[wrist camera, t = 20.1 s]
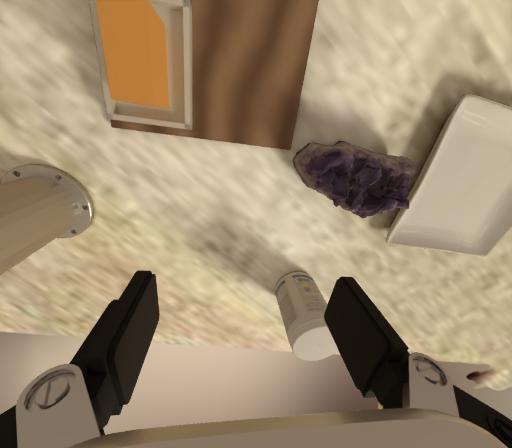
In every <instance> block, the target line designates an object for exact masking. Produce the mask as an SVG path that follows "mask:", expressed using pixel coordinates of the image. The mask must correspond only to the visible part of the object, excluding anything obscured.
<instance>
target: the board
mask: <svg viewBox="0 0 512 448" xmlns="http://www.w3.org/2000/svg"><path fill="white" fill-rule="evenodd" d="M318 1H319V0H190V3H191V6H192V130H188V129H180V128H173V127H165V126H158V125H150V124H143V123H135V122H128V121H120V120H112V119H111V126H112V127H114V128H122V129H130V130H137V131H145V132H153V133H161V134H169V135H177V136H185V137H192V138H200V139H208V140H216V141H224V142H232V143H240V144H247V145H255V146H263V147H271V148H279V149H287V150H290V149H291V144H292V138H293V133H294V128H295V123H296V117H297V112H298V107H299V101H300V96H301V91H302V86H303V80H304V75H305V70H306V65H307V59H308V54H309V49H310V43H311V38H312V33H313V28H314V22H315V17H316V12H317V6H318Z"/></svg>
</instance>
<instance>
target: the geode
mask: <svg viewBox="0 0 512 448" xmlns="http://www.w3.org/2000/svg"><path fill="white" fill-rule="evenodd" d="M293 162H294V166H295V168H296V170H297V171H298V173H299V174H300V176H301V177H302V179H303V181H304V183H305V184H306V186H307V187H309V188H312V189H313V190H316V191H317V192H319V193H322V194H324V195H326V196H327V198H329V199H330V200H333V202H334V205H335V206H336V207H337V206H338V205H340V206H341V207H342V208H343V209H345V210H348V211H351V212H352V213H353V214H356V215H358V216H360V217H361V218H366V217H367V216H373V215H375V214H379V215H381V214H382V211H384V210H389V211H393V210H394V209H395V207H397V208H401V209H403V210H406V209H409V200H408V199H406V197H407V194H408V191H409V189H408V180H409V179H410V178H411V177H412V176H413V175H414V174H415V173H416V172H417V169H416V167H415V166H414V165H413V164H412V162H411V161H409V159H408V158H405V157H402V156H400V157H397V156H392V155H382V154H379V153H373V152H371V151H368V150H366V149H363V148H360V147H357V146H354V145H351V144H349V143H347V142H344V141H339V142H338V143H336V144H335V145H334V146H325V145H321V144H317V143H309V144H308V145H307V146H305V147H304V148H303V149H302V150H300V151H299V152H297V155H296V156H295V157H294V158H293Z"/></svg>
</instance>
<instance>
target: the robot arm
mask: <svg viewBox="0 0 512 448" xmlns="http://www.w3.org/2000/svg"><path fill="white" fill-rule="evenodd" d="M93 218H94V207H93V203H92V200H91V198H90V196H89V195H88V193H87V191H86V190H85V189H84V188H83V187H82V185H81V184H80V183H79V182H77V181H76V180H75V179H74V178H72V177H71V176H69V175H68V174H66V173H65V172H62V171H60V170H58V169H56V168H53V167H50V166H45V165H39V164H30V165H24V166H20V167H16V168H14V169H12V170H10V171H9V172H7V173H6V175H5V176H4V177H3V179H2V181H1V184H0V275H2V274H3V273H5V272H6V271H8V270H9V269H11V268H12V267H14V266H15V265H17V264H18V263H20V262H21V261H23V260H24V259H26V258H27V257H29V256H30V255H32V254H33V253H34V252H36V251H37V250H39V249H40V248H42V247H43V246H45V245H46V244H48V243H49V242H51V241H52V240H54V239H55V238H69V237H74V236H76V235H79V234H80V233H82V232H83V231H85V230H86V229H87V228H88V227H89V226H90V224H91V223H92V220H93ZM324 320H325V323H326V325H327V327H328V329H329V331H330V333H331V335H332V337H333V339H334V342H335V344H336V346H337V348H338V350H339V352H340V354H341V356H342V358H343V360H344V363H345V365H346V367H347V369H348V371H349V373H350V375H351V377H352V379H353V382H354V384H355V386H356V387H357V388H358V389H359V390H360V391H361V393H362V395H363V397H364V398H368V397H369V398H370V397H375V396H376V398H377V400H378V401H379V406H378V409H376V410H361V411H349V412H348V411H347V412H334V413H320V414H308V415H295V416H282V417H269V418H257V419H246V420H245V419H244V420H233V421H222V422H209V423H197V424H186V425H176V426H166V427H156V428H147V429H138V430H131V431H125V432H119V433H112V434H108V435H105V433H104V429H103V427H105V425H107V423H108V421H109V418H110V416H111V415H119V414H120V413H121V410H122V407H123V405H125V404H128V403H129V401H130V399H131V396H132V393H133V390H134V387H135V385H136V382H137V379H138V376H139V374H140V371H141V368H142V365H143V363H144V360H145V357H146V354H147V352H148V349H149V346H150V343H151V340H152V338H153V335H154V332H155V329H156V327H157V324H158V321H159V305H158V295H157V285H156V276H155V274H152V272H151V271H137V272H136V273H135V274H134V276H133V278H132V279H131V281H130V282H129V284H128V285H127V287H126V289H125V290H124V292H123V293H122V295H121V297H120V298H119V300H113V301H111V302H110V304H109V305H108V306H107V308H106V309H105V311H104V312H103V314H102V315H101V317H100V318H99V320H98V321H97V323H96V324H95V326H94V327H93V329H92V330H91V332H90V333H89V335H88V336H87V338H86V339H85V341H84V342H83V344H82V346H81V347H80V349H79V350H78V351H77V353H76V354H75V356H74V357H73V359H72V361H71V362H70V363H69V364H64V365H59V366H56V367H54V368H52V369H49V370H47V371H45V372H44V373H42V374H41V375H39V376H38V377H37V378H35V379H34V380H33V381H32V382H31V383H30V384H29V385H28V386H27V387H26V388H25V390H24V391H23V392H22V394H21V395H20V397H19V399H18V401H17V405H15V406H13V407H12V408H10V409H9V410H7V411H5V412H4V413H2V414H1V415H0V448H512V421H511V420H510V419H509V418H507V417H505V416H504V415H503V414H501V413H499V412H498V411H496V410H494V409H493V408H491V407H489V406H488V405H486V404H484V403H483V402H481V401H479V400H478V399H476V398H474V397H472V396H471V395H469V394H468V393H466V392H464V391H463V390H461V389H459V388H458V387H456V386H454V385H453V384H452V381H451V378H450V376H449V375H448V374H447V372H446V370H445V369H444V368H443V367H442V366H441V365H440V364H439V363H437V362H436V361H435V360H434V359H432V358H430V357H429V356H427V355H424V354H422V353H417V352H415V353H411V354H409V352H408V351H407V350H408V347H407V345H406V344H405V343H404V342H403V340H402V339H401V338H400V337H399V335H398V334H397V333H396V331H395V330H394V329H393V328H392V326H391V325H390V324H389V323H388V321H387V320H386V319H385V317H384V316H383V315H382V314H381V312H380V311H379V310H378V309H377V307H376V306H375V305H374V303H373V302H372V301H371V300H370V298H369V297H368V296H367V295H366V293H365V292H364V291H363V290H362V288H361V287H360V286H359V284H358V283H357V282H356V281H355V279H354V278H353V277H340V278H339V279H338V280H337V281H336V284H335V286H334V289H333V292H332V294H331V297H330V300H329V302H328V305H327V308H326V310H325V313H324Z"/></svg>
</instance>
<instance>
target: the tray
mask: <svg viewBox="0 0 512 448" xmlns="http://www.w3.org/2000/svg"><path fill="white" fill-rule="evenodd" d="M148 1H149V3H150V4H151V5H152V7H153V8H154V10H155V11H156V13H157V14H158V16H159V17H160V19H161V20H162V22H163V23H164V25H165V33H166V52H167V72H168V91H169V108H162V107H155V106H147V105H140V104H134V103H128V102H123V101H118V100H112V99H111V96H110V89H109V83H108V76H107V70H106V63H105V57H104V51H103V44H102V38H101V31H100V25H99V18H98V12H97V5H96V0H89V3H90V10H91V16H92V22H93V28H94V35H95V41H96V47H97V54H98V60H99V66H100V72H101V79H102V85H103V91H104V97H105V104H106V110H107V116H108V119H112V120H120V121H128V122H135V123H143V124H150V125H158V126H165V127H173V128H180V129H188V130H192V6H191V3H190V0H148Z"/></svg>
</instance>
